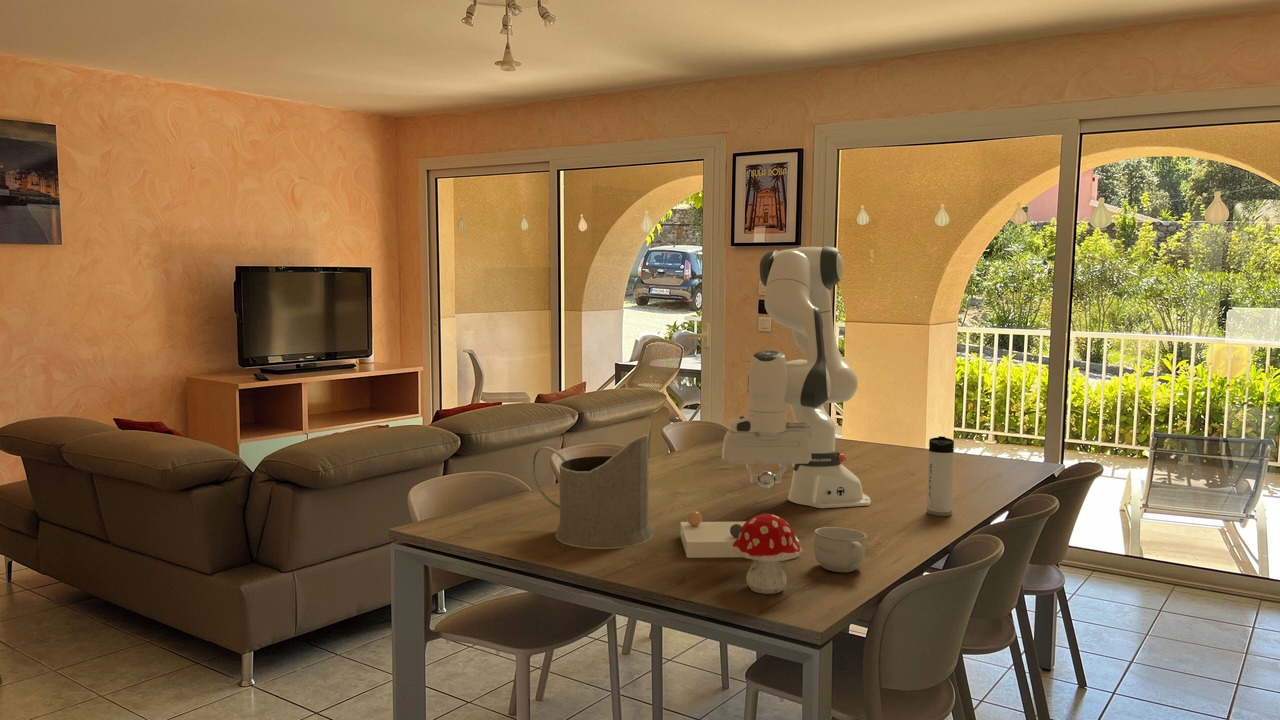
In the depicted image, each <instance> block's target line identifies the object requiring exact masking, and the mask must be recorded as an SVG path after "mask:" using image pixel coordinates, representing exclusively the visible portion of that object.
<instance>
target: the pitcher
mask: <svg viewBox="0 0 1280 720" xmlns="http://www.w3.org/2000/svg"><path fill="white" fill-rule="evenodd" d="M649 437H650V436H649V435H648V434H643V435H641V436H638V437H636V438H635V439H633V440H630V441H629V443H627V444H626V445H624V447H622V448H621V449H620V450H619V451H618V452H616V453H615V454H614V455H591V456H580V457H574V458H569V459H566V458H565V456H564V455H563V454H562V453H561V452H559V451H558V450H557V449H555V448H552V447H550V446H542V447H538V448H537V449H536V450H535V451H534V453H533V456H532V461H531V472H532V473H531V474H532V481H533V483H534V486H535V487H536V489H537V490H538V492H539V493H540V495H541V496H542V497H543V498H544V500H546V502H548V503H550V504H551V505H552V506H554V507H555V508H557V509H559V524H558V528H557V530H556V533H555V534H554V535H555V539H556V540H558V541H559V542H561V543H562V544H565V545H567V546H571V547H575V548H581V549H582V548H583V549H593V550H594V549H595V550H597V549H598V550H609V549H612V550H613V549H623V548H624V549H625V548H630V547H635V546H638V545H642V544H644V543H646V542H649V541H650V540H651V539H652V537H653V535H654V534H653V531H652V528H651V527H650V524H649V449H650V448H649V447H650V446H649V442H650V441H649ZM541 450H548V451H551V452H553V453H555V454H556V455H557V456H558V457H559V458H560V459H561V461H562V462H561V463H559V504H558V503H556V502H555V501H553V500H552V499H551V498H550V497H548V496H547V495H546V493H545V492H544V491H543V489H542V488H541V487H540V485H539V483H538V480H537V475H536V458H537V455H538V453H539V452H540V451H541Z"/></svg>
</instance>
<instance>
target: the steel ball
mask: <svg viewBox="0 0 1280 720" xmlns="http://www.w3.org/2000/svg"><path fill="white" fill-rule="evenodd" d="M757 475H758V486H760V487H761V488H762V489H767V490H768V489H771V488H772V487H773V486H774V484H776V483H775V477H774V474H773V473H772V472H771V471H768V470H764V471H760V473H758V474H757Z"/></svg>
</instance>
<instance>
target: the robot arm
mask: <svg viewBox="0 0 1280 720" xmlns="http://www.w3.org/2000/svg"><path fill="white" fill-rule="evenodd" d="M844 269H845V263H844V260H843V257H842V254H841V252H840V251H839V250H838V249H837V248H836V247H834V246H827V245H826V246H825V245H824V246H823V247H821V246H800V247H796V248H788V249H782V250H777V249H776V250H772V251H767V252H766V253H765V254H764V255H763V256H762V257H761V259H760V261H759V267H758V273H759V277H760V281H761V283H762V285H763V286H764V287H765V292H764V308H765V310H766V313H767V314H768V316H769V318H771V319H772V320H773V321H774V322H775V323H776V324H778V325H780V326H782V327H785V328H788V329H791V333H792V339H793V342H794V344H795V345H796V346H797V347H798V348H799V349H800V350H801V351H802V352H803V354H804V357H805V359H794V360H793V359H792V360H789V361H787V360H786V355H785V354H784V353H783V352H781V351H777V350H762V351H757V352H754V354H752V356H751V360H750V364H749V365H750V366H749V373H748V376H747V394H748V395H749V403H748V407H747V413H746V414H743V415H738V416H736V417H733V418H730V419H729V420H728V421H727V427H728V429H729V430H727V431H726V432H725V434H724V437H723V440H722V441H723V442H722V449H721V457H722V459H721V460H723V461H724V462H725V463H726V464H745V467H746V468H747V469H746V470H747V471H748V472H749V474H750V483H752V484H757V483H758V475H759V474H758V473H754V471H753V470H752V469H754V465H755V464H769V465H770V464H778V467H779V470H778V472H777V473H774V474H773V475H774V477H775V483H774V484H782V482H783V481H782V476H783V475H784V473H785V472H786V470H787V469H788V465H789V464H791V466H792V469H793V471H792V478H791V484H790V490H789V493H788V496H787V500H788V501H790V502H791V503H795V504H798V505H803V506H809V507H813V508H818V509H827V508H828V509H829V508H830V509H831V508H845V507H846V508H847V507H864V506H870V505H871V503H872V502H871V501H872V500H871V498H870V497H869V495H867V494H865V493H864V491H863V487H862V483H861V480H860V478H859V477H858V476H856V475H855V474H854V473H853V472H852V471H851V470H849V469H848V468H847V467H846V466H845V465H843V464H842V463H844V462H846V461H848V457H847V455H845V454H844V453H841V452H839V451H837V449H836V423H835V420H834V418H832V417H831V416H830V415H829V414H828V412H827V411H826V409H825V407H824V404H825V403H827V404H828V403H829V404H833V403H834V404H837V403H843V402H844V403H845V402H849V401H850V400H851V399H853V397H854V396H855V394H856V392H857V390H858V382H859V381H858V378H857V374H856V372H855V370H853V369H852V367H850V365H848V363H847V362H846V361H845V359H844V357H843V356H842V354H841V352H840V350H839V347H838V345H837V341H836V337H835V330H834V321H833V320H834V319H833V307H832V306H833V305H832V298H831V297H832V296H831V292H830V290H832V288H833V287H834V286H835V287H836V285H838V284H839V282H841V280H842V278H843V275H844V274H843V273H844ZM787 406H789V408H790V411H791V414H792V419H793V422H787V421H788V407H787Z"/></svg>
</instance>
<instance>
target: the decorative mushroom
mask: <svg viewBox="0 0 1280 720" xmlns="http://www.w3.org/2000/svg"><path fill="white" fill-rule="evenodd" d="M745 522H746V523H745V524H744V525H743V526H742V528H741V530H740V533H739V536H738V538H737V540H736V541H735V542H734V543H733V545H732V548H733V550H734V552H735V553H736V554H737V555H740V556H742V557H741V558H745V559H747V560H748V559H749V560H752V563H751V566H750V568H749V569H748V571H747V574H746V577H745V580H746V583H747V585H748V587H749V588H750V589H751V591H753V592H755V593H757V594H763V595H768V594H769V595H775V594H777V593H781V592H782V591H783V590H784V589H785V587H786V586H787V583H788V578H787V575H786V573H785V570H784V569H783V566H782V563H781V561H782V562H783V561H787V560H791V559H796V558H798V557H797V556H799V557H800V555H801V554H802V552H803V548H802V547H801V545H800V543H799V544H798V543H797V541H796V538H795V536H796V535H795V531H794V530H793V528H792V527H791V525H790V524H789V523H788V522H787V521H786V520H785V519H784V518H782V517H780V516H777V515H775V514H772V513H762V514H759V515H758V514H757V515H755V516H753V517H751V518H750V519H749V520H747V521H745Z"/></svg>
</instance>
